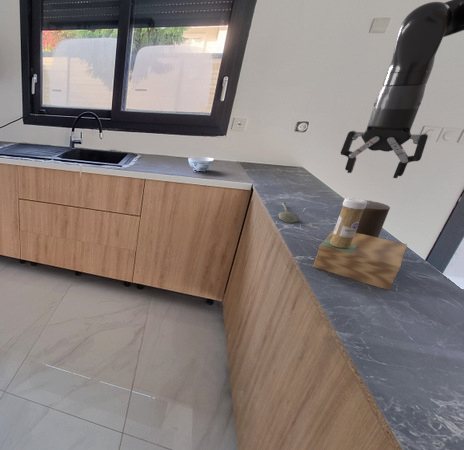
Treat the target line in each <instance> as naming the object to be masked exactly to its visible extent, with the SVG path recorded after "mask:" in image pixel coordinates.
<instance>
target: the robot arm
mask: <svg viewBox="0 0 464 450" xmlns="http://www.w3.org/2000/svg"><path fill="white" fill-rule="evenodd" d="M463 31H464V0H447V1H444V2H442V1H432V2H430V1H429V2H427V3H424V4H422V5H420V6H418V7H415V8H414V9H413V10H412V11H410V12H409V13H408V14H407V15H406V17H405V18H404V19H403V21H402V22H401V25H400V28H399V31H398V34H397V38H396V41H395V46H394V49H393V55H392V58H391V60H390V61H391V62H390V64H389V66H388V68H387V70H386V74H385V76H384V80H383V81H382V86H381V88H380V90H379V93H378V94H377V97H376V99H375V101H374V103H373V108H372V111H371V114H370V117H369V120H368V123H367V126H366V128H365V130H364V131H356V130H350V131H349V132H348V133H347V135H346V138H345V140H344V143H343V145H342V147H341V150H340V155H341V156H345V157H347V161H346V165H345V171H347V172H346V173H348V174H352V173H353V170H354V167H355V165H356V162H357V159H358V158H357V156H359V155H360V154H361V153H362V152H364V151H366V150H367V149H368V150H370V151H373V152H376V151H382V152H385V153H387V152H388V153H389V152H394V154H395V155H396V156H397V158H398V159H399V161H398V164H397V166H396V169H395V172H394V174H393V176H392V179H398V178H399V177H402V176H403V175H404V172H405V170H406V168H407V166H408V164H409V163H412V162H419V161H420V160H421V159H422V155H423V154H424V150H425V147H426V144H427V141H428V138H429V134H428V133H421V134H418V133H417V134H412V133H411V131H412V127H413V124H414V122H415V119H416V116H417V114H418V112H419V108H420V106H421V105H422V101H423V100H424V99H423V98H424V96H425V91H426V87H427V84H428V82H429V79H430V76H431V73H432V70H433V68H434V64H435V58H436V54H437V52H438V50H439V48H440V46H441V43H442V41H443V39H444V38H445V37H448V36H451V35H454V34H457V33H461V32H463ZM360 137H361V139H362V141H363V142H364V144H362V145H361V146H360V147H358V148H356V149H355V150H354V151H352V150H350V149H351V146H352V144H353V142H354V141H356V140H358V138H360ZM409 140H412V144H414V145H416V147H415V150H414V154H413V155H408V154H407V152H406V150H405V149H404V147H403V145H404V144H405V143H407V142H408V141H409Z"/></svg>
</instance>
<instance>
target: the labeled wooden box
mask: <svg viewBox="0 0 464 450" xmlns="http://www.w3.org/2000/svg"><path fill="white" fill-rule="evenodd" d="M334 229H335V227H334V228H333V230H332V231H331V232H330V233H329V235H328V236H326V238H325V239H324V240H323V241H322V242H321V244H320V245H319V248H318V251H317V254H316V257H315V260H314V262H313V266H312V267H313V268H316V269H319V270H322V271H325V272H328V273H331V274H335V275H337V276H341V277H344V278H347V279H351V280H354V281H357V282H361V283H363V284H368V285H369V286H370V285H371V286H373V287H377V288H380V289H384V290H387V291H390V290H391V288H392V286H393V284H394V282H395V279H396V277H397V275H398V273H399V270H400V269H401V266H402V263H403V259H404V257H405V253H406V250H407V247H408V244H407V243H404V242H398V241H395V240H390V239H387V238H386V239H385V238H382V237H378V238H377V237H373V236H369V235H364V234H360V233H355V235H354V237H353V240H352V242H351V247H350V248H338V247H335V246H333V245H331V244H330V241H331V239H332V236H333V232H334Z"/></svg>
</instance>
